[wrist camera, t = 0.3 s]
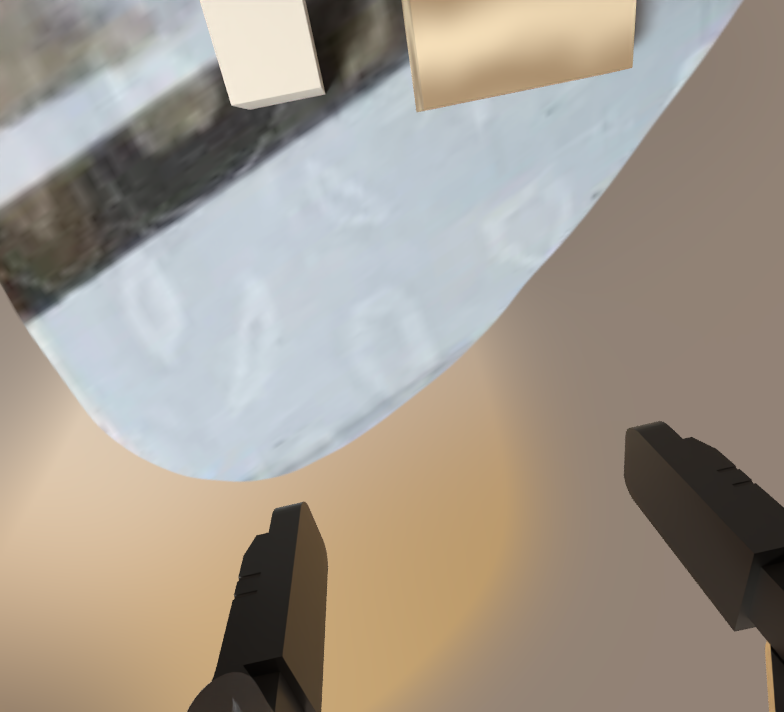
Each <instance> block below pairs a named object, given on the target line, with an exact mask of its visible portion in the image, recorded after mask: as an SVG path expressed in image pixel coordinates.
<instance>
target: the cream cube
mask: <svg viewBox="0 0 784 712" xmlns="http://www.w3.org/2000/svg"><path fill="white" fill-rule="evenodd" d="M200 3H201V6H202V10H203V13H204V16H205V19H206V23H207V26H208V29H209V33H210V36H211V39H212V43H213V46H214V49H215V52H216V56H217V59H218V62H219V66H220V69H221V72H222V76H223V79H224V82H225V85H226V89H227V92H228V95H229V99H230V102H231V105H232V106H236V107H241V108H245V109H249V110H250V109H255V108H260V107H265V106H270V105H275V104H280V103H285V102H290V101H295V100H299V99H304V98H309V97H314V96H319V95H324V94H325V90H324V85H323V80H322V76H321V71H320V67H319V62H318V57H317V53H316V48H315V43H314V39H313V34H312V29H311V25H310V20H309V15H308V11H307V6H306V1H305V0H200Z"/></svg>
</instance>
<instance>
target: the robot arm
mask: <svg viewBox="0 0 784 712" xmlns="http://www.w3.org/2000/svg"><path fill="white" fill-rule="evenodd" d="M624 463H625V465H624V478H625V483H626V486H627V488H628V491H629V493H630V495H631V497H632V499H633V500H634V501H635V503H636V504H637V505H638V507H639V508H640V509H641V511H642V512H643V513H644V514H645V516H646V517H647V518H648V519H649V521H650V522H651V524H652V525H653V526H654V527H655V529H656V530H657V531H658V533H659V534H660V535H661V537H662V538H663V539H664V541H665V542H666V543H667V544H668V546H669V547H670V548H671V550H672V551H673V552H674V554H675V555H676V556H677V557H678V559H679V560H680V561H681V563H682V564H683V565H684V567H685V568H686V569H687V570H688V572H689V573H690V574H691V576H692V577H693V578H694V579H695V581H696V582H697V584H699V586H700V587H701V589H702V590H703V591H704V593H705V594H706V595H707V596H708V598H709V599H710V600H711V602H712V603H713V604H714V606H715V607H716V608H717V610H718V611H719V612H720V614H721V615H722V616H723V617H724V619H725V620H726V621H727V622H728V624H729V625H730V627H731V628H732V629H733V630H734V631H739V630H744V629H748V628H753V627H756V628H757V629H758V630H759V631H760V632H761V634H762V635H763V636H764V637H765V639H766V640H767V641H766V645H765V658H766V673H767V688H768V703H769V712H784V507H782V506H781V505H780V504H779V503H778V502H777V501H776V500H774V499H773V498H772V497H771V496H770V495H769V494H768V493H766V492H765V491H764V490H763V489H762V488H761V487H759V486H758V485H757V484H756V483H755V484H753V482H752V480H751V479H750V478H749V477H748V476H747V475H746V474H745V473H743V472H742V471H741V470H740V469H737V468H736V466H735V465H734V464H733V463H732V462H731V461H730V460H728V459H727V458H726V457H725V456H724V455H722V453H720V452H719V451H718V450H717V449H715V448H713V447H711V446H709V445H707V444H705V443H703V442H701V441H699V440H697V439H695V438H693V437H690V438H685V439H682V438H681V437H680V436H679V435H678V434H677V433H676V432H675V431H674V430H673V429H672V428H670V427H669V426H668V425H667V424H666V423H664V422H662V421H658V422H654V423H649V424H645V425H641V426H636V427H632V428H629V429H627V431H626V437H625V462H624ZM327 574H328V561H327V553H326V548H325V545H324V542H323V539H322V537H321V534H320V532H319V530H318V527H317V525H316V523H315V521H314V518H313V516H312V514H311V511H310V509H309V507H308V505H307V503H306V502H301V503H297V504H292V505H289V506H284V507H279V508H276V509H274V511H273V514H272V518H271V524H270V529H269V533H265V534H261V535H257V536H256V537H255V539H254V540H253V542H252V544H251V545H250V547H249V548H248V550H247V551H246V553H245V555H244V556H243V561H242V565H241V569H240V573H239V581H238V582H237V585H236V589H235V593H234V597H235V599H234V600H233V602H232V606H231V610H230V614H229V618H228V622H227V626H226V631H225V634H224V638H223V642H222V647H221V651H220V655H219V659H218V663H217V667H216V671H215V674H214V677H213V679H212V682H210V683H209V684H208V685H207V686H206V687H205V688H204V689H203V690H202V691H201V692H200V693H199V694H198V695H197V696H196V698H195V699H194V701H193V702H192V704H191V705H190V707H189V709H188V711H187V712H321V702H322V681H323V661H324V638H325V617H326V596H327Z"/></svg>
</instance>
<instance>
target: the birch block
mask: <svg viewBox="0 0 784 712" xmlns="http://www.w3.org/2000/svg"><path fill="white" fill-rule="evenodd" d="M402 7H403V15H404V22H405V30H406V37H407V44H408V52H409V59H410V67H411V74H412V81H413V89H414V96H415V104H416V111H417V112H421V111H426V110H431V109H436V108H441V107H446V106H451V105H456V104H460V103H465V102H470V101H475V100H480V99H485V98H490V97H495V96H500V95H505V94H510V93H514V92H519V91H524V90H529V89H534V88H539V87H544V86H549V85H554V84H559V83H564V82H568V81H573V80H578V79H583V78H588V77H593V76H598V75H603V74H607V73H612V72H616V71H620V70H625V69H629V68H632V64H633V47H634V31H635V14H636V0H402Z"/></svg>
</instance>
